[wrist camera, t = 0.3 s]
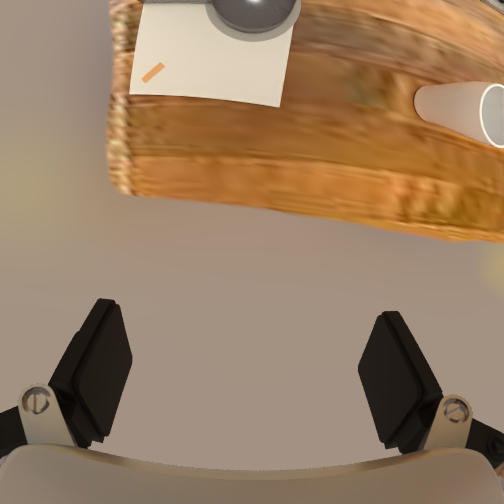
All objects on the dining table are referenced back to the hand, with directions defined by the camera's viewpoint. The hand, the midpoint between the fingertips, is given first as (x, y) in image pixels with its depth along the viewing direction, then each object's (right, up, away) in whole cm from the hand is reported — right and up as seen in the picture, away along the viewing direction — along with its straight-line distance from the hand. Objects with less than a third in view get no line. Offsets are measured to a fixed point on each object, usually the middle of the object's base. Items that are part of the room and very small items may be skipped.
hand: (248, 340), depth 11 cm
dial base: (-4, +29, +19) cm, 35 cm away
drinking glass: (+24, +23, +23) cm, 40 cm away
